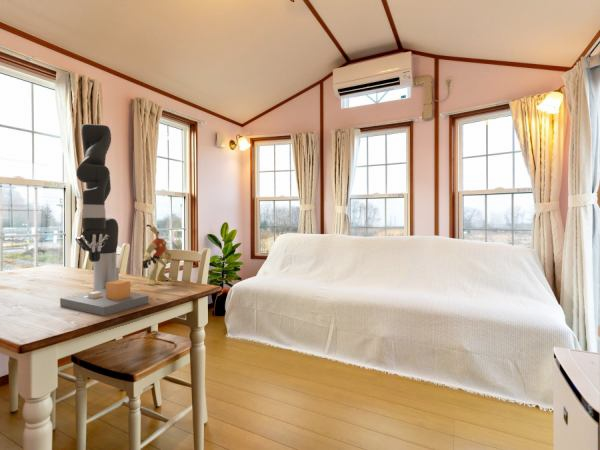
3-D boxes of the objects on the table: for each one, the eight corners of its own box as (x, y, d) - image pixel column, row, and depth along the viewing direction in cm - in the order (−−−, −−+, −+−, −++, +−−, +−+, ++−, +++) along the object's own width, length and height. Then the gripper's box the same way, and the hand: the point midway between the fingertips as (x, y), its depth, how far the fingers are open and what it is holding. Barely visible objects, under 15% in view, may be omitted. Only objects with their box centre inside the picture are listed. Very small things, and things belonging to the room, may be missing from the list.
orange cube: (120, 294, 129) (120, 279, 128) (130, 296, 126) (130, 281, 126) (105, 298, 123) (105, 282, 123) (116, 300, 121) (116, 284, 120)
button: (96, 298, 127) (96, 291, 127) (101, 299, 125) (101, 292, 125) (88, 300, 124) (88, 293, 124) (93, 301, 122) (93, 293, 122)
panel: (106, 295, 139) (106, 287, 139) (148, 303, 128) (148, 294, 128) (60, 306, 123) (60, 296, 122) (103, 315, 111) (103, 305, 111)
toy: (149, 288, 152) (149, 225, 150) (133, 288, 153) (132, 225, 152) (176, 279, 174) (176, 224, 173) (161, 278, 176) (161, 223, 175)
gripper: (104, 216, 131) (105, 258, 132) (69, 216, 119) (70, 263, 120) (116, 216, 128) (117, 259, 128) (81, 216, 116) (82, 264, 116)
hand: (94, 261), depth 124 cm, fingers closed
